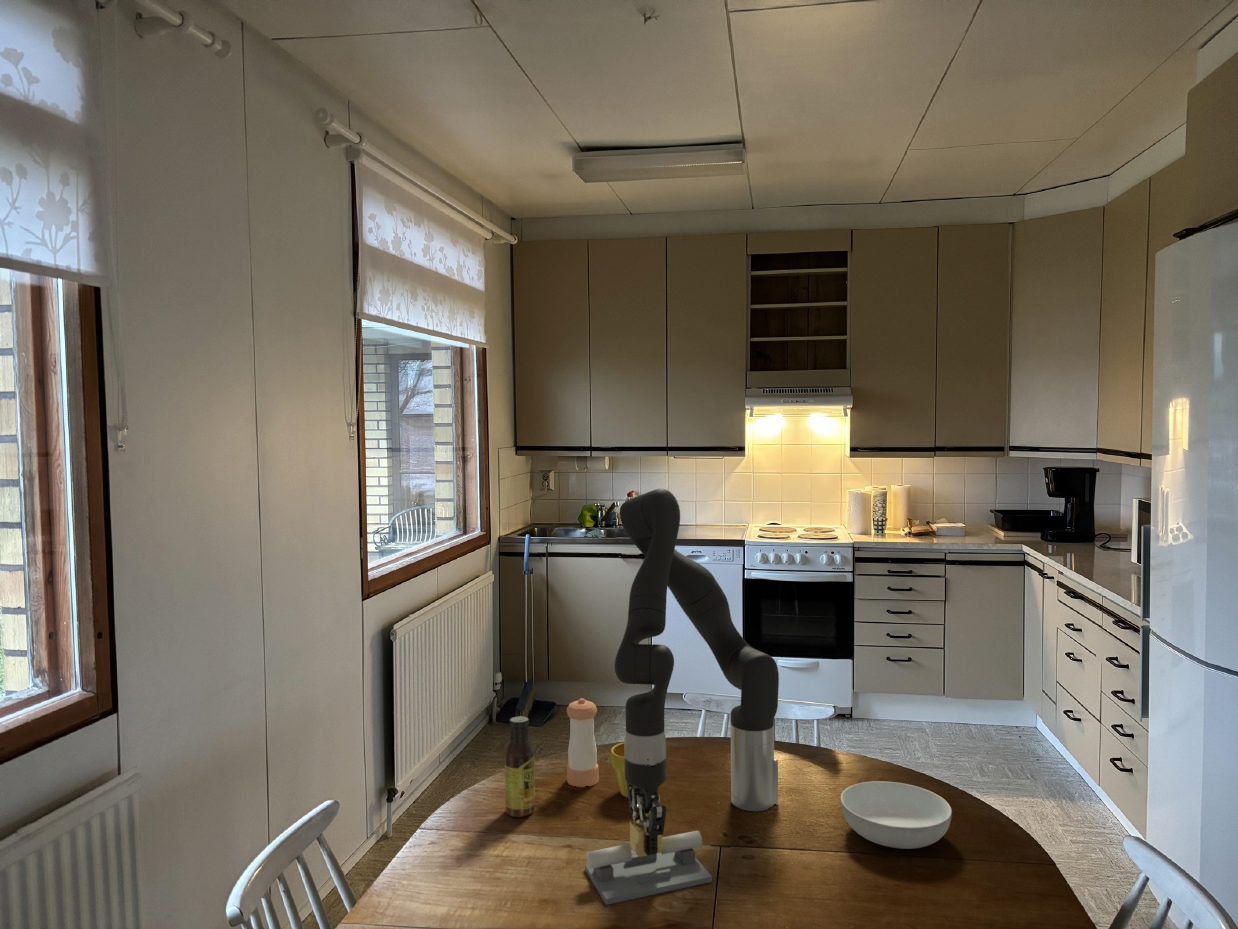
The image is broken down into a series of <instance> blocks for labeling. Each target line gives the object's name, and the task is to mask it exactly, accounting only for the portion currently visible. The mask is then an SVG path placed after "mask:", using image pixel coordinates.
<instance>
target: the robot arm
mask: <svg viewBox="0 0 1238 929" xmlns="http://www.w3.org/2000/svg"><path fill="white" fill-rule="evenodd" d="M619 519H620V522H621V525H622V528H623V529H624V531H625V533H626V534H627V536H628V537H629V539H630V540H631V541H632V542H633V543H634V545H635V546H636V547H637V549H638V550H639V551H640V552H641V554H642V555H643V556H644V559H643V561H642V564H641V565H640V567H639V569H638V571H637V572H636V575H635V577H634V579H633V581H632V585H631V587H630V592H629V596H628V597H629V599H628V600H629V601H628V611H627V612H628V614H627V623H626V628H625V631H624V635H623V637H622V640H621V643H620V645H619V646H618V647H619V648H618V650H617V653H616V656H615V660H614V673H615V675H616V676H617V677H616V678H617V679H618V680H619V681H620V682H621V683H623V684H627V685H651V686H652V685H653V688H652V689H651V690H649V691H647V692H644V693H643V692H642V693H639V694H633V695H631V696H630V697H628V698H627V699H626V701H625V702H626V703H625V709H624V710H625V711H624V712H625V732H624V733H625V734H624V741H623V742H624V751H625V780H626V781H627V788H628V797H627V798H628V799H627V800H628V808H629V812H630V814H632V820H638V819H641V820H642V821H643V822H644V830H645V831H644V832H645V853H646V854H647V855H653V854H656V853H657V852H658V835H662V836H663V835H664V831H665V822H666V816H667V815H666V814H667V808H666V807H667V806H666V804H662V805H661V804H660V802H661V798H660V797H661V796H660V793H659V787H660V786H661V785H662V784H664V783H665V782H666V779H667V741H666V740H667V739H666V733H665V706H666V698H667V694H668V693H667V692H668V689H669V685H670V681H671V678H672V675H673V672H674V668H675V656H674V655H673V654H674V653H673V652H672V650H671V649H670V648H669V647H668V646H667V645H665V644H657V643H656V644H655V643H654V644H650V643H649V644H647V643H642V644H641V643H640V642H642V641H644V640H646V639H651V638H654V637H658V636H660V635H662V634H663V632H664V631H665V628H666V621H667V620H666V619H667V618H666V616H667V615H666V614H667V596H668V595H667V594H668V589H669V591H670V592H671V593H672V595H673V597H674V599H675V601H676V602H677V604H678V605H679V606H680V608H681V609H682V611H683V612H684V613H685V615H686V617H687V618H688V619H689V621H690V622H691V623H692V624H693V626H694V628H695V629H696V630H697V632H698V633H699V635H700V636H701V637H702V638H703V640H704V642H705V643H706V644H707V645H708V647H709V649H710V650H711V652H712V654H713V656H714V658H715V661H717V663H718V666H719V668H720V670H721V672H722V674H723V675H724V677H725V679H726V680H727V681H728V683H730V684H731V686H733V687H734V688H736V689H738V690H740V705H736V706H735V707H733V708H732V710H731V711H730V794H731V795H730V800H731V803H732V805H733V806H734V807H736V808H738V809H741V810H743V811H747V812H760V811H761V812H762V811H768V810H769V809H768V808H770V807H771V808H773V807H774V806H775V805H774V804H776V805H778V804H779V760H777V758H775V717H776V714H777V713H778V712H777V711H778V706H779V684H780V678H779V677H780V675H779V674H780V673H779V668H778V664H777V662H776V661H775V659H774V658H773V657H772V656H771V655H770V654H767V653H765V652H763V651H760V650H758V649H756V648H754V647H752V646H751V645H750V644H748V642H747V641H746V640H745V639H744V638H743V636H742V635H741V634H740V632H739V630H737V628H736V627H735V624H734V623H733V620H732V616H731V609H730V605H729V601H728V598H727V596H726V593H725V592H724V591H723V589H722V587H721V586H720V584H719V582H718V581H717V579H716V578H715V576H714V575H713V573H712V572H711V571H709V570H708V569H707V568H706V567H705V566H703V565H702V564H700V563H699V562H697V561H695V560H693V559H692V558H690V557H688V556H687V555H684V554H683V553H682V552H679V551H678V550H677V549H675V548H676V544H677V539H678V534H679V530H680V525H681V523H680V522H681V510H680V505H679V502H678V499H677V498H676V497H675V496H674V494H673V493H672V491H670V490H668V489H666V488H657V489H653V490H649V491H647V492H645V493H642V494H640V495H638V496H634V497H631V498H630V499H627V500H626V501H623V503H622V504H621V505H620V508H619ZM777 803H778V804H777ZM773 805H774V806H773ZM771 808H770V809H771ZM648 814H649V815H648ZM648 822H649V825H648Z"/></svg>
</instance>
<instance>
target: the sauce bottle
mask: <svg viewBox="0 0 1238 929" xmlns="http://www.w3.org/2000/svg"><path fill="white" fill-rule="evenodd" d="M529 721H530V720H529V718H528V717H526V716H521V715H520V716H514V717H511V718H510V719H509V726H510V736H509V740H510V742H509V744H507V745H506V749H505V756H504V758H505V763H504V803H505V804H504V805H505V813H506V814H507V815H508V816H510V817H513V818H523V817H526V816H529V815H531V814H533V812H534V810H535V803H536V802H535V801H536V798H535V796H536V795H535V794H536V793H535V791H536V790H535V788H536V786H535V774H536V773H535V753H534V751H533V748H532V745H531V743H530V739H529V738H530V737H529V725H530V723H529Z"/></svg>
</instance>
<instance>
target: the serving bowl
mask: <svg viewBox="0 0 1238 929" xmlns="http://www.w3.org/2000/svg"><path fill="white" fill-rule="evenodd" d="M840 805H841V809H842V810H841V811H842V814H843V816H844V819H845V820H846V822H847V823H848V825H849V826H850V827H851V829H853V831H854V832H855V833H857V834H858V835H859V836H861V837H863V838H864V839H866V840H868V841H870V842H873V843H874V844H878V845H880V846H884V847H889V848H893V849H894V848H895V849H903V850H904V849H907V850H909V849H911V850H912V849H920V848H924V847H928V846H931V845H932V844H934V843H937V842H938V841H939V840H941V839H942V838H943V836H944V835H946V833H947V831H948V830H949V828H950V826H951V825H950V824H951V821H952V816H953V811H952V807H951V806H950V804H949V802H947V800H946V799H944V797H942V796H940V795H938V794H936V793H935V792H932V791H931V790H928V789H926V788H923V787H920V786H916V785H912V784H908V783H902V782H896V781H895V782H894V781H884V780H881V781H880V780H874V781H872V780H871V781H865V782H863V781H862V782H860V783H859V782H858V783H855V784H852V785H850V786H848V787H846V788H845V789H843V791H842V792H841V794H840Z"/></svg>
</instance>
